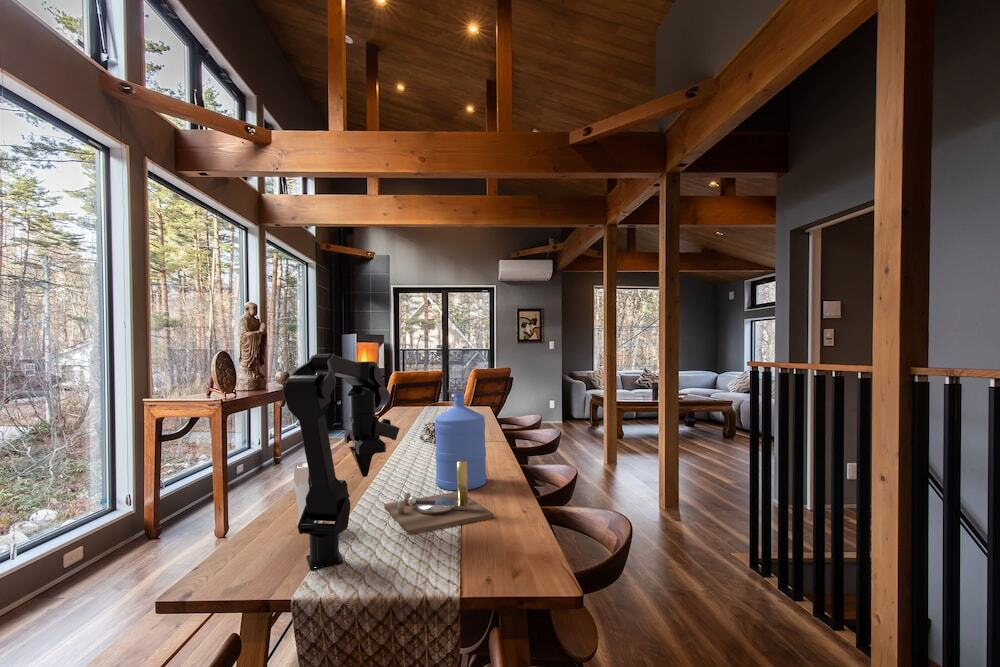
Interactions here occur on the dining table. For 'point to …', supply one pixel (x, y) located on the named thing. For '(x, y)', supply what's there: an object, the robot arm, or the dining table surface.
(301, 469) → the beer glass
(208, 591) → the dining table surface
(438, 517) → the walnut board
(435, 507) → the dial
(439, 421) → the water jug
